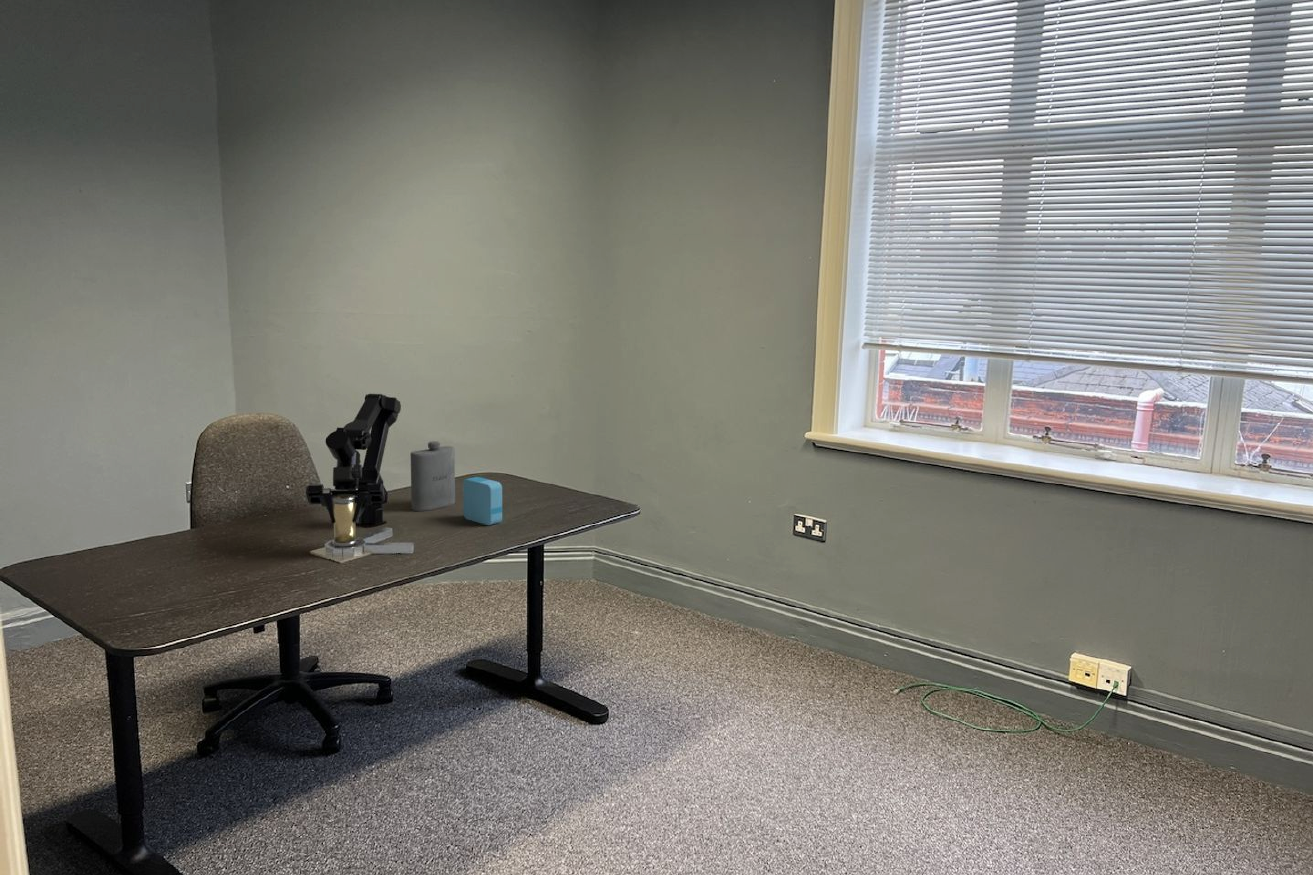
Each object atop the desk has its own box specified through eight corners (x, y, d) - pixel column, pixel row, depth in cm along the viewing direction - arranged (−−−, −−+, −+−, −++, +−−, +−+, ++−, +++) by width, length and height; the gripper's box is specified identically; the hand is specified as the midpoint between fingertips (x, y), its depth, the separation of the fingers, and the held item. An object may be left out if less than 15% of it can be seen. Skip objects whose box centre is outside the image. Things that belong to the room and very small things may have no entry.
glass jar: (329, 546, 235) (327, 496, 232) (347, 541, 239) (345, 492, 237) (343, 550, 232) (341, 500, 229) (361, 545, 236) (359, 496, 234)
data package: (502, 523, 266) (502, 482, 263) (490, 526, 262) (490, 485, 260) (474, 515, 273) (474, 475, 271) (462, 518, 270) (462, 478, 267)
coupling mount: (310, 553, 234) (309, 544, 234) (382, 533, 253) (382, 524, 252) (361, 569, 223) (360, 559, 223) (432, 547, 242) (432, 538, 242)
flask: (420, 513, 274) (419, 446, 270) (408, 509, 277) (406, 444, 273) (460, 503, 285) (459, 440, 281) (448, 500, 289) (447, 437, 285)
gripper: (305, 453, 233) (299, 507, 224) (382, 452, 237) (379, 505, 228) (311, 476, 242) (306, 529, 234) (385, 475, 246) (383, 527, 237)
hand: (343, 522), depth 233 cm, fingers closed on glass jar, 5 cm apart
